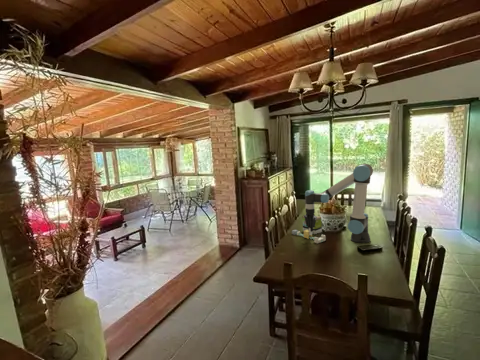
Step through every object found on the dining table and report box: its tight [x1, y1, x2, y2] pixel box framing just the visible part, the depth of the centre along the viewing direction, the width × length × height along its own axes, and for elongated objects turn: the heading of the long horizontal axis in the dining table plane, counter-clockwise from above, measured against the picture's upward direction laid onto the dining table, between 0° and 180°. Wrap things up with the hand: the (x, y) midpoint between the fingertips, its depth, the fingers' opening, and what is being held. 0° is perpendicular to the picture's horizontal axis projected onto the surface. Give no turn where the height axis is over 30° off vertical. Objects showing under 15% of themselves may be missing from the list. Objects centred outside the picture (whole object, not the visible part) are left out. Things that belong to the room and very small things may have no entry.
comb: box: [313, 234, 327, 244], centre depth 240 cm, size 4×10×4 cm, turn 126°
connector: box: [291, 229, 299, 236], centre depth 263 cm, size 4×4×3 cm
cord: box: [296, 233, 324, 243], centre depth 252 cm, size 32×2×2 cm, turn 35°
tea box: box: [302, 215, 323, 235], centre depth 266 cm, size 15×10×15 cm, turn 37°
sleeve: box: [303, 230, 313, 240], centre depth 251 cm, size 5×5×6 cm
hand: (310, 234), depth 248 cm, fingers closed
